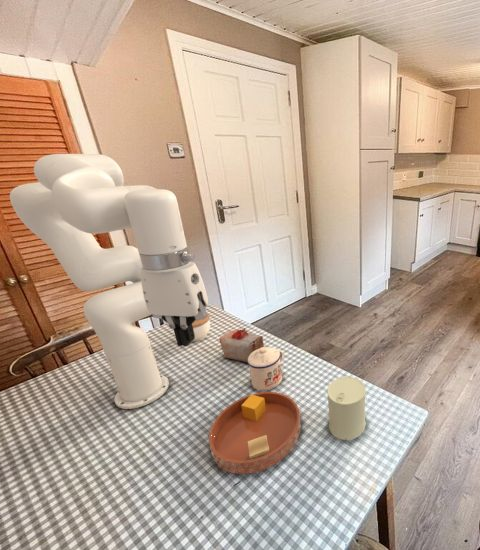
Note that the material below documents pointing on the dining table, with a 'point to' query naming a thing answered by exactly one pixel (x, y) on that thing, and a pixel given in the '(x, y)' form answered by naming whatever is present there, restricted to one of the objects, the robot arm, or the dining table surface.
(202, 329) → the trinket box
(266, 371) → the teacup with lid
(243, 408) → the mustard block
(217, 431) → the bowl
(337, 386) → the can
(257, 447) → the birch block
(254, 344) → the food item
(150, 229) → the robot arm
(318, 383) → the dining table surface
